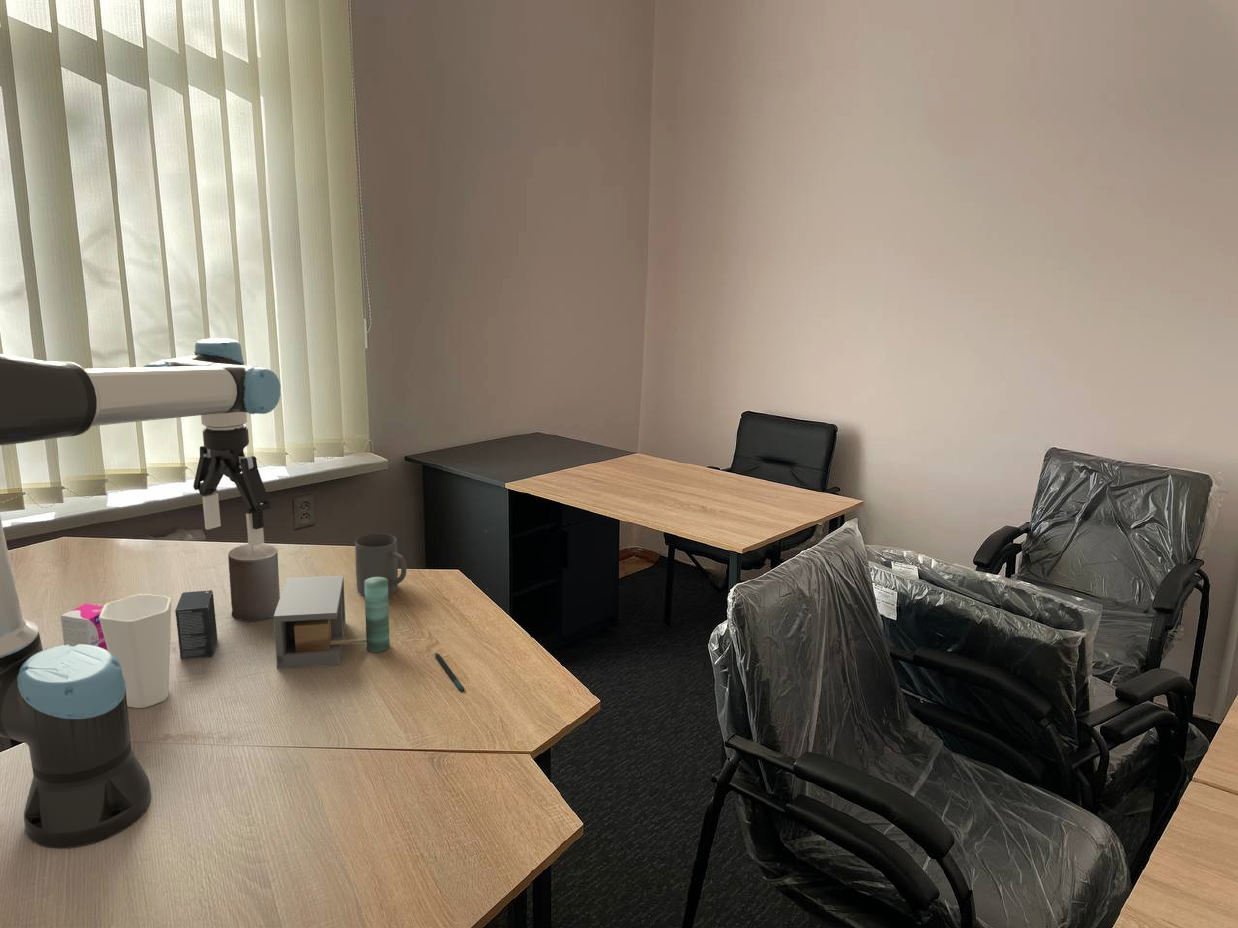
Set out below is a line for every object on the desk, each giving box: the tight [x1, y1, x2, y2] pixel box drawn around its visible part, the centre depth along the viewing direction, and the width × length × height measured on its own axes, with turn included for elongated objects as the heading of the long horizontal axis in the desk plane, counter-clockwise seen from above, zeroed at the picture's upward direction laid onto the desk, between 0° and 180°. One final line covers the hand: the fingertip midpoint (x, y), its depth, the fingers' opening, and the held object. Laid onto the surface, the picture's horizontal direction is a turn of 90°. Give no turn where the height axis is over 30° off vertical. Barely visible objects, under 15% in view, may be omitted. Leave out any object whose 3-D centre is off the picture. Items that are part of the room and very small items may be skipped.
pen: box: [434, 652, 465, 693], centre depth 163 cm, size 1×16×1 cm, turn 29°
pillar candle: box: [227, 543, 281, 622], centre depth 182 cm, size 10×10×15 cm
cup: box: [99, 593, 172, 709], centre depth 148 cm, size 11×10×17 cm
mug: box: [354, 532, 407, 597], centre depth 195 cm, size 14×9×12 cm
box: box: [174, 589, 218, 661], centre depth 166 cm, size 8×6×11 cm
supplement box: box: [60, 603, 108, 651], centre depth 157 cm, size 6×6×12 cm
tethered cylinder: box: [294, 577, 391, 653], centre depth 168 cm, size 6×17×14 cm, turn 103°
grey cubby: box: [273, 574, 346, 669], centre depth 170 cm, size 18×11×11 cm, turn 13°
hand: (234, 535), depth 162 cm, fingers open, 13 cm apart
